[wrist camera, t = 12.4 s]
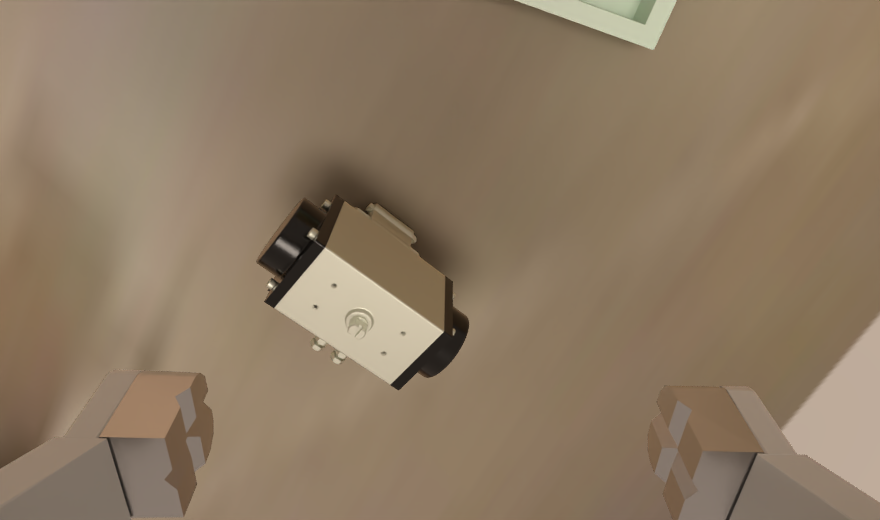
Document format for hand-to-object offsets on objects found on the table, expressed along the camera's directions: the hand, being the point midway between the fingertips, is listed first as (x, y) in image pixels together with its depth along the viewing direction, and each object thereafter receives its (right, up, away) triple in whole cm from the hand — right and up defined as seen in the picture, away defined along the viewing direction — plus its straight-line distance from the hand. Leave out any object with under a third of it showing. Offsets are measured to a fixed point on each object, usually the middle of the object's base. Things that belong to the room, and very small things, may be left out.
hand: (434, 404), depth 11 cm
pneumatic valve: (-4, +4, +31) cm, 32 cm away
